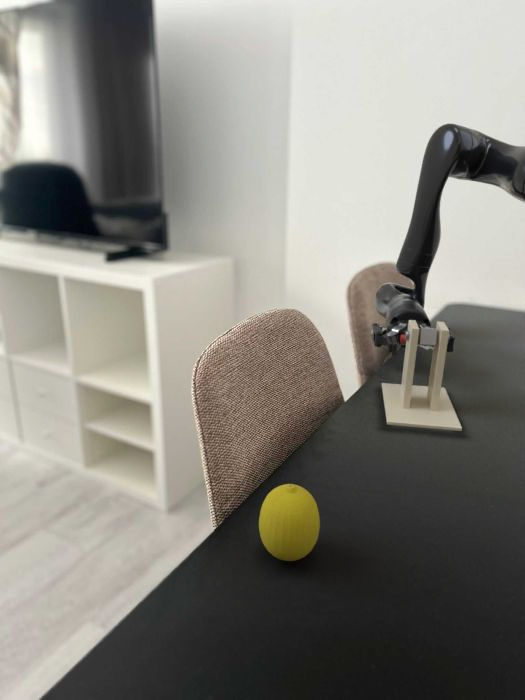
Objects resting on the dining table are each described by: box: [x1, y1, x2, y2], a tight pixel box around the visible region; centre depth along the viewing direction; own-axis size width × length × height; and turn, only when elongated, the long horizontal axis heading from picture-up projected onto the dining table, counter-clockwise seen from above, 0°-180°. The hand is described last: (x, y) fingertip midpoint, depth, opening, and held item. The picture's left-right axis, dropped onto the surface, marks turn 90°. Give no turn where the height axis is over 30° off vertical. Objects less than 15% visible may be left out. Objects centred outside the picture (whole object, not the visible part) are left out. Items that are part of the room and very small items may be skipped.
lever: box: [400, 327, 437, 346], centre depth 78 cm, size 12×5×2 cm, turn 170°
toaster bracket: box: [381, 320, 463, 432], centre depth 75 cm, size 14×10×14 cm
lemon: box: [258, 483, 321, 562], centre depth 47 cm, size 6×6×8 cm
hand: (417, 351), depth 81 cm, fingers open, 6 cm apart
